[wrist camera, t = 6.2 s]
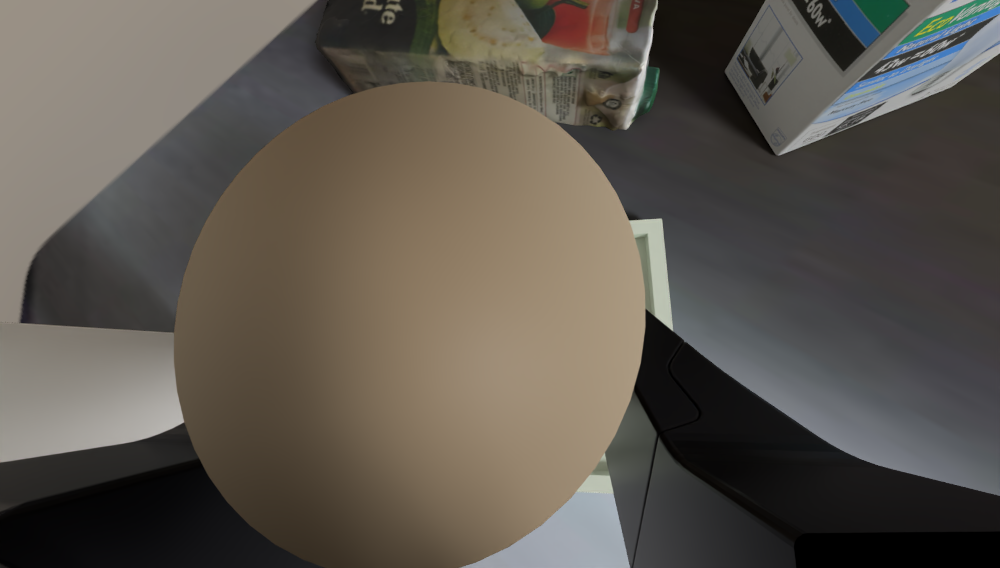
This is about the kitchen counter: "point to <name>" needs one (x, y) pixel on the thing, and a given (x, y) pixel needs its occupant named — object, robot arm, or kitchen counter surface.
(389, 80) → the juice carton
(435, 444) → the dowel
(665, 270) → the tray
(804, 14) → the light bulb box
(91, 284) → the kitchen counter surface
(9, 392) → the cylindrical container
